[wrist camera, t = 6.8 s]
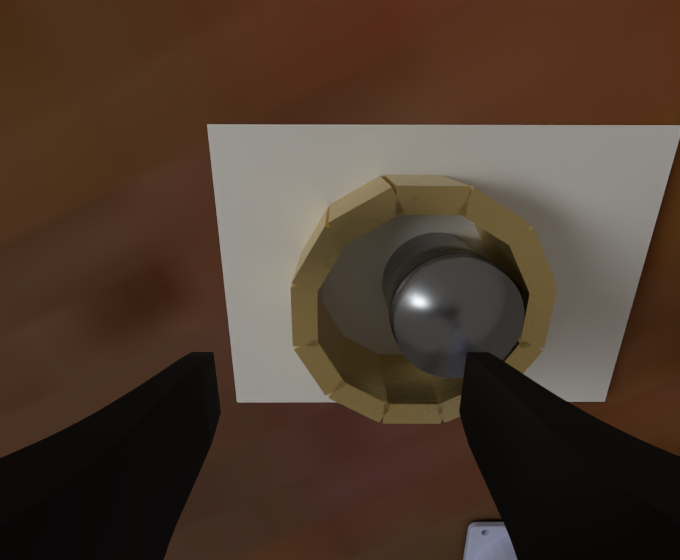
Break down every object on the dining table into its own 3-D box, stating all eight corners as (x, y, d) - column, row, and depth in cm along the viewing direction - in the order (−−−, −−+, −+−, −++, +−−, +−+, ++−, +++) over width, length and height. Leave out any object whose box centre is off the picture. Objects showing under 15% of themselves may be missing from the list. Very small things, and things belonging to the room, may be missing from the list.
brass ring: (526, 175, 17) (579, 187, 13) (492, 371, 21) (527, 423, 17) (298, 173, 17) (286, 184, 13) (303, 370, 20) (295, 423, 17)
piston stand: (664, 125, 17) (803, 121, 12) (593, 390, 22) (670, 467, 17) (214, 124, 17) (161, 120, 12) (241, 391, 22) (211, 468, 17)
